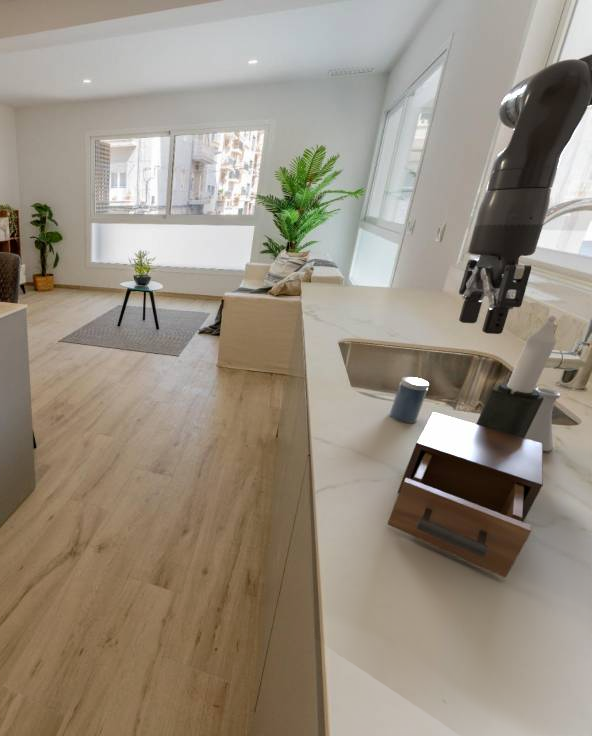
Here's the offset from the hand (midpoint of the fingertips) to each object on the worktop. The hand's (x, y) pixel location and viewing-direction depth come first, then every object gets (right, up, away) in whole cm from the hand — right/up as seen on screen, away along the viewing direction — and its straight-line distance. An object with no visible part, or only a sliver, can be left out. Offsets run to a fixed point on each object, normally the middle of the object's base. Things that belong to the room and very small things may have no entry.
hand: (478, 327), depth 69 cm
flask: (+16, -20, +8) cm, 27 cm away
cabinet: (-9, -25, -6) cm, 27 cm away
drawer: (-18, -27, -15) cm, 36 cm away
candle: (+3, -22, +2) cm, 23 cm away
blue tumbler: (-1, -16, +15) cm, 22 cm away
